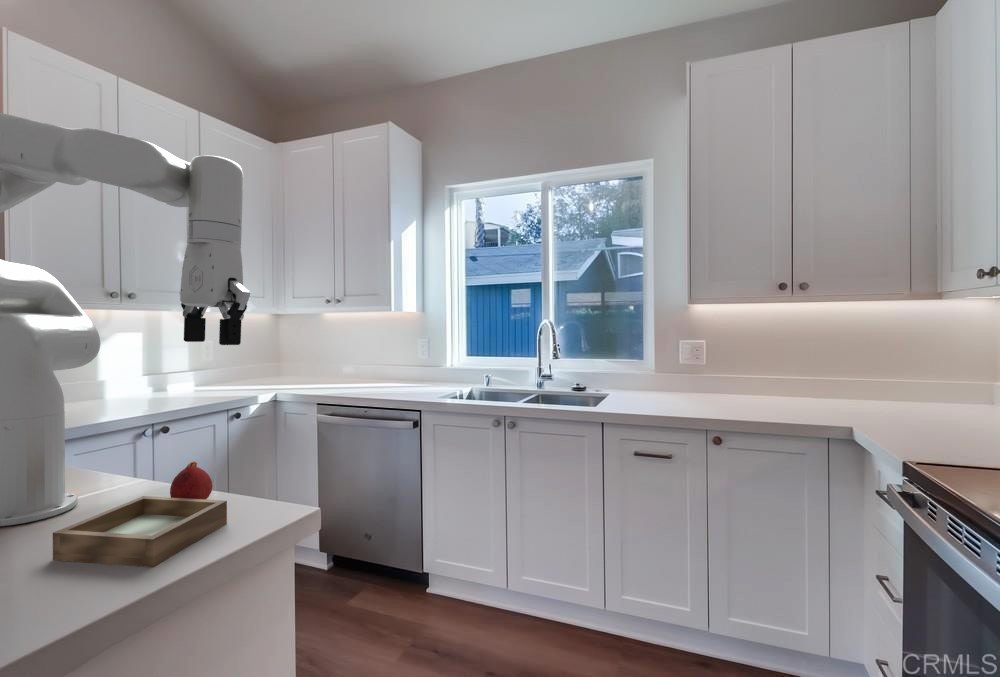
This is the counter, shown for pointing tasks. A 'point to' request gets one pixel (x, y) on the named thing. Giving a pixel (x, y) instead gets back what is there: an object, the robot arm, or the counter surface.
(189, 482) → the dark red round piece
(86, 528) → the tray
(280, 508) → the counter surface
